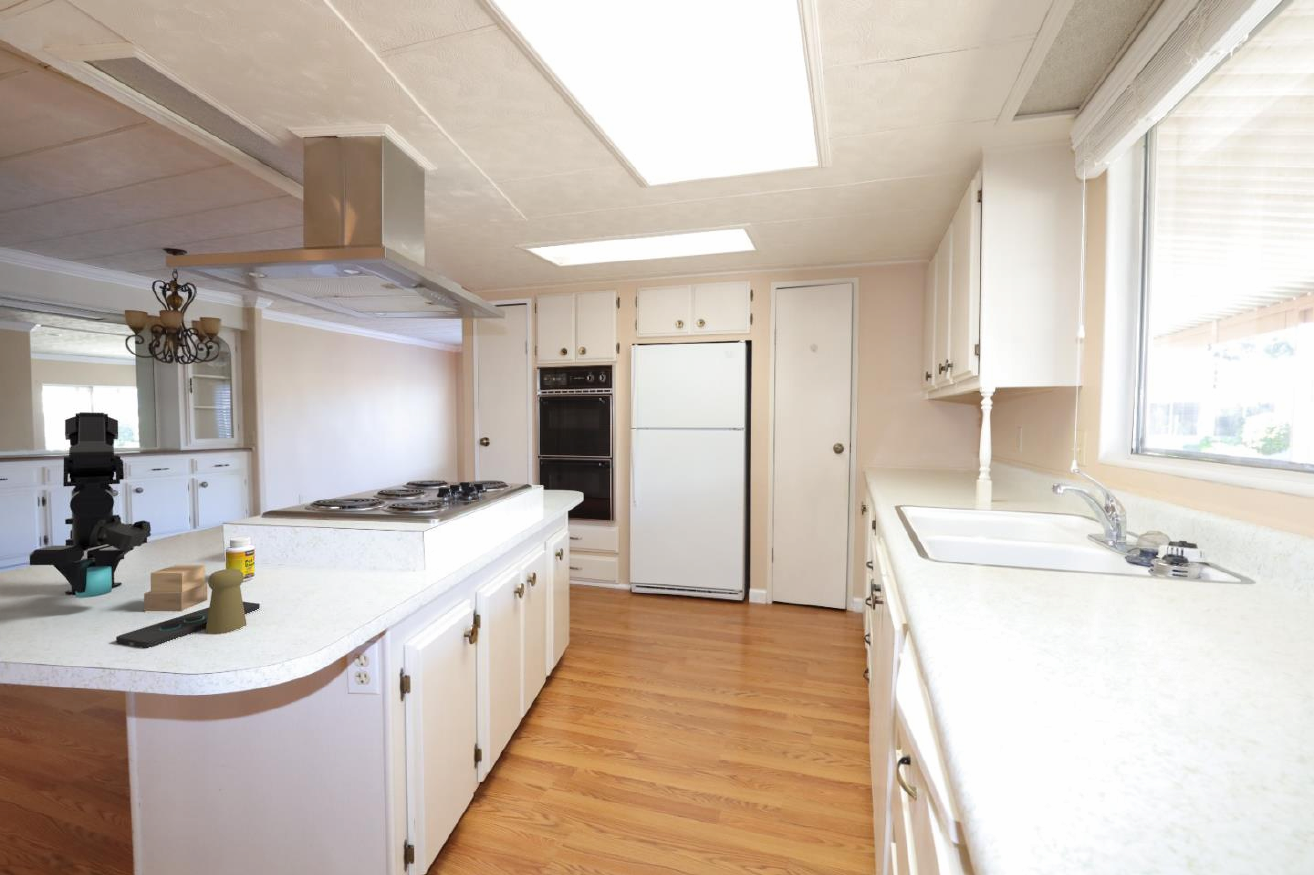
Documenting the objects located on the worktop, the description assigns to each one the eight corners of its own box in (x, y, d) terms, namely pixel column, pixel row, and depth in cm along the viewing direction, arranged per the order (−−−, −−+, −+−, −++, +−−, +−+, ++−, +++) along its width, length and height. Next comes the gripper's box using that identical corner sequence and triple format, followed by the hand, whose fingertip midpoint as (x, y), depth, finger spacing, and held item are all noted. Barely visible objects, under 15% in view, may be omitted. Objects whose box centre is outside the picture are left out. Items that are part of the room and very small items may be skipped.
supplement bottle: (247, 582, 126) (247, 540, 126) (220, 584, 125) (220, 541, 125) (259, 576, 132) (259, 535, 132) (233, 577, 131) (233, 536, 130)
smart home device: (113, 635, 92) (231, 599, 111) (113, 645, 92) (231, 607, 112) (147, 641, 90) (261, 603, 109) (148, 651, 90) (261, 611, 109)
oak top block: (175, 583, 113) (175, 565, 113) (204, 583, 114) (204, 565, 114) (150, 592, 107) (150, 573, 107) (182, 592, 108) (182, 573, 108)
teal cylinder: (92, 589, 109) (91, 566, 109) (118, 589, 110) (118, 565, 109) (67, 598, 104) (67, 573, 104) (96, 597, 105) (95, 572, 104)
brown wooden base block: (172, 601, 114) (172, 582, 114) (207, 600, 114) (207, 582, 114) (144, 613, 107) (144, 593, 107) (181, 612, 108) (181, 593, 107)
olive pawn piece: (212, 636, 95) (212, 576, 95) (199, 629, 99) (199, 571, 98) (252, 626, 101) (252, 569, 100) (238, 619, 104) (238, 564, 103)
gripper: (92, 520, 98) (93, 603, 98) (173, 504, 116) (174, 574, 117) (25, 520, 97) (27, 604, 97) (118, 504, 115) (118, 575, 116)
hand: (93, 588), depth 107 cm, fingers closed on teal cylinder, 5 cm apart
